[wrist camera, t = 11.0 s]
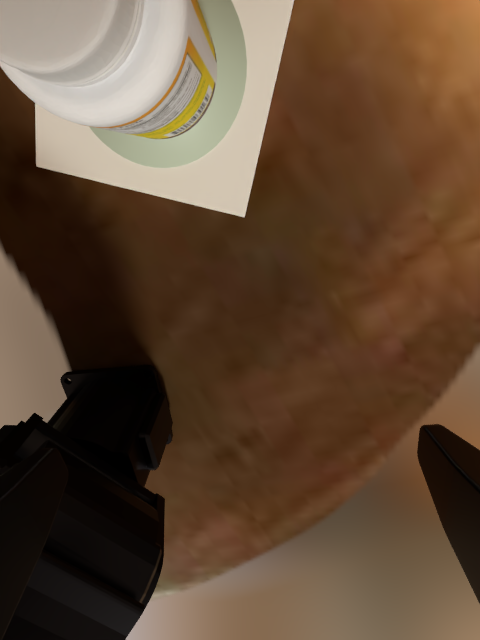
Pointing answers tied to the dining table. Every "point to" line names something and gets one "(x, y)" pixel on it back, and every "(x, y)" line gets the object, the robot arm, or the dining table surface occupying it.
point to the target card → (205, 137)
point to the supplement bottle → (112, 62)
